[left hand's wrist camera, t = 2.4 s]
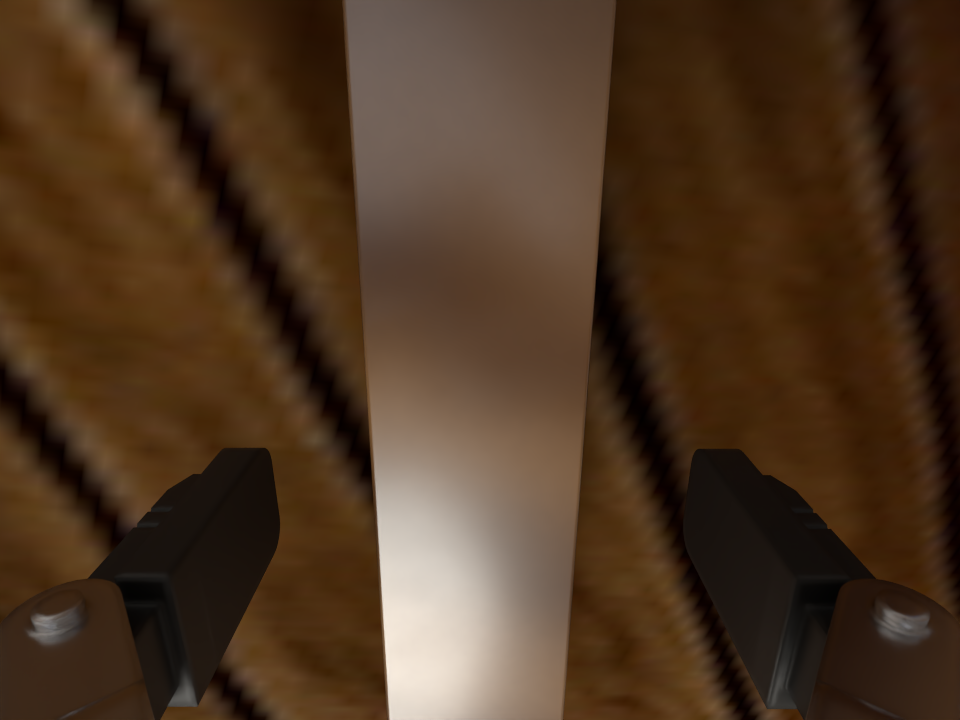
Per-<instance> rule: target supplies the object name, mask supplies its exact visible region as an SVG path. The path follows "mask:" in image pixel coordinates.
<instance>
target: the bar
mask: <svg viewBox="0 0 960 720" xmlns="http://www.w3.org/2000/svg"><path fill="white" fill-rule="evenodd" d="M616 3H617V0H342V7H343V23H344V39H345V55H346V71H347V87H348V103H349V119H350V134H351V150H352V166H353V182H354V198H355V214H356V230H357V246H358V262H359V278H360V294H361V309H362V325H363V341H364V357H365V373H366V389H367V405H368V421H369V437H370V453H371V469H372V484H373V500H374V516H375V532H376V548H377V564H378V580H379V596H380V612H381V628H382V644H383V659H384V675H385V691H386V707H387V720H563V715H564V701H565V688H566V675H567V661H568V648H569V634H570V621H571V607H572V594H573V580H574V567H575V554H576V540H577V527H578V513H579V500H580V486H581V473H582V460H583V446H584V433H585V419H586V406H587V392H588V379H589V366H590V352H591V339H592V325H593V312H594V298H595V285H596V272H597V258H598V245H599V231H600V218H601V204H602V191H603V178H604V164H605V151H606V137H607V124H608V110H609V97H610V83H611V70H612V57H613V43H614V30H615V16H616Z"/></svg>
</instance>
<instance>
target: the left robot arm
mask: <svg viewBox="0 0 960 720" xmlns="http://www.w3.org/2000/svg"><path fill="white" fill-rule="evenodd" d="M279 532H280V517H279V510H278V503H277V496H276V488H275V481H274V474H273V467H272V460H271V456H270V453H269V451H268V450H267V449H266V448H224V449H222V450H221V451H220V452H219V454H218V455H217V456H216V457H215V458H214V460H213V461H212V462H211V463H210V464H209V465H208V467H207V468H206V469H205V470H204V471H203V473H202V474H193V475H191V476H189V477H188V478H186V479H185V480H183V481H181V482H180V483H178V484H176V485H175V486H173V487H172V488H170V489H168V490H167V491H166V492H165V493H164V495H163V496H162V497H161V498H160V499H159V500H158V501H157V502H156V503H155V505H154V506H153V507H152V508H151V512H147V513H146V515H145V516H144V517H143V518H142V519H141V520H140V521H139V522H138V523H137V528H133V529H132V530H131V531H130V532H129V533H128V534H127V536H126V537H125V538H124V539H123V540H122V541H121V542H120V543H119V544H118V546H117V547H116V548H115V549H114V550H113V551H112V552H111V553H110V554H109V556H108V557H107V558H106V559H105V560H104V561H103V562H102V563H101V564H100V566H99V567H98V568H97V569H96V570H95V571H94V572H93V573H92V574H91V575H90V577H89V578H88V579H82V580H76V581H71V582H67V583H64V584H61V585H58V586H55V587H52V588H50V589H47V590H45V591H43V592H41V593H39V594H37V595H35V596H33V597H32V598H30V599H28V600H27V601H25V602H24V603H22V604H21V605H19V606H18V607H17V608H15V609H14V610H13V611H12V612H11V613H10V614H9V615H8V616H7V617H6V618H5V619H4V620H3V621H2V622H1V624H0V720H160V719H161V717H162V715H163V713H164V712H165V710H166V708H167V706H198V705H199V703H200V701H201V699H202V697H203V695H204V693H205V691H206V689H207V687H208V685H209V683H210V681H211V679H212V677H213V675H214V673H215V671H216V669H217V667H218V665H219V663H220V661H221V659H222V657H223V655H224V653H225V651H226V649H227V647H228V645H229V643H230V641H231V639H232V637H233V635H234V633H235V631H236V629H237V627H238V625H239V623H240V621H241V619H242V617H243V615H244V613H245V611H246V609H247V607H248V605H249V603H250V601H251V599H252V597H253V595H254V593H255V591H256V589H257V587H258V585H259V583H260V581H261V579H262V577H263V575H264V573H265V571H266V569H267V567H268V565H269V563H270V561H271V559H272V557H273V555H274V553H275V551H276V548H277V544H278V540H279ZM683 533H684V540H685V545H686V549H687V552H688V554H689V556H690V558H691V560H692V562H693V564H694V566H695V568H696V570H697V572H698V574H699V576H700V578H701V580H702V582H703V584H704V586H705V588H706V590H707V592H708V594H709V596H710V597H711V599H712V601H713V603H714V605H715V607H716V609H717V611H718V613H719V615H720V617H721V619H722V621H723V623H724V625H725V627H726V629H727V631H728V633H729V635H730V637H731V639H732V641H733V643H734V645H735V647H736V649H737V651H738V653H739V655H740V657H741V658H742V660H743V662H744V664H745V666H746V668H747V670H748V672H749V674H750V676H751V678H752V680H753V682H754V684H755V686H756V688H757V690H758V692H759V694H760V696H761V698H762V700H763V702H764V704H765V706H766V708H767V709H798V710H799V712H800V714H801V716H802V718H803V719H804V720H960V624H959V622H958V621H957V620H956V619H955V618H954V617H953V616H952V615H951V614H950V613H949V612H948V611H947V610H946V609H945V608H943V607H942V606H941V605H939V604H938V603H936V602H935V601H933V600H932V599H930V598H928V597H927V596H925V595H923V594H921V593H919V592H917V591H915V590H913V589H910V588H908V587H905V586H902V585H899V584H896V583H893V582H889V581H884V580H878V579H876V578H875V577H874V576H873V575H872V574H871V573H870V572H869V571H868V569H867V568H866V567H865V566H864V565H863V564H862V563H861V562H860V561H859V560H858V558H857V557H856V556H855V555H854V554H853V553H852V552H851V551H850V550H849V549H848V547H847V546H846V545H845V544H844V543H843V542H842V541H841V540H840V539H839V538H838V536H837V535H836V534H835V533H834V532H833V531H832V530H831V529H827V524H826V523H825V522H824V521H823V520H822V519H821V518H820V517H819V516H818V514H817V513H813V509H812V508H811V507H810V506H809V505H808V504H807V502H806V501H805V500H804V499H803V498H802V497H801V496H800V495H799V494H798V493H797V491H795V490H794V489H792V488H790V487H789V486H787V485H785V484H784V483H782V482H781V481H779V480H777V479H776V478H774V477H772V476H771V475H762V474H761V473H760V471H759V470H758V469H757V468H756V467H755V466H754V464H753V463H752V462H751V461H750V460H749V459H748V457H747V456H746V455H745V454H744V453H743V452H742V451H741V450H739V449H697V450H696V451H695V453H694V455H693V458H692V463H691V469H690V476H689V483H688V491H687V498H686V505H685V512H684V519H683Z"/></svg>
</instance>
